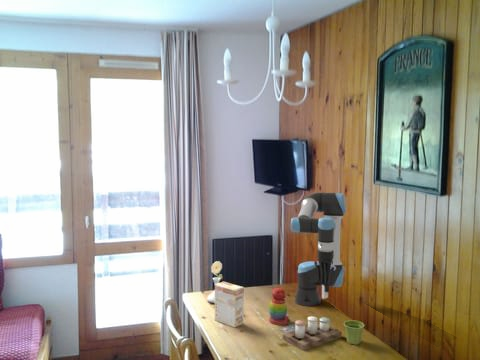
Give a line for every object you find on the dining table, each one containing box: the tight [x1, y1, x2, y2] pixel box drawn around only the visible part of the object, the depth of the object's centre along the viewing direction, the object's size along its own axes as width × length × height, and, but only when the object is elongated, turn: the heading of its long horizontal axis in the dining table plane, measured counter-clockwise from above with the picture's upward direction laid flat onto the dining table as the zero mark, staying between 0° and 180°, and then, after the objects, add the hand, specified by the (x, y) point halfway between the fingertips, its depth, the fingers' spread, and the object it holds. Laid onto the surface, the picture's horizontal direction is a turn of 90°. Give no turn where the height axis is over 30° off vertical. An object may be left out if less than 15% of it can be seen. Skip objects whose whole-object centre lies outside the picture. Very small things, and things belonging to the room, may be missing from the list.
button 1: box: [294, 319, 306, 338], centre depth 208 cm, size 5×5×7 cm
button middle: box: [307, 316, 319, 335], centre depth 212 cm, size 5×5×7 cm
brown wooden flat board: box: [282, 322, 343, 351], centre depth 213 cm, size 25×14×2 cm, turn 125°
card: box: [278, 323, 308, 334], centre depth 224 cm, size 14×6×1 cm, turn 125°
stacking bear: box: [268, 286, 290, 327], centre depth 232 cm, size 11×10×18 cm
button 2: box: [319, 316, 331, 333], centre depth 217 cm, size 5×5×7 cm
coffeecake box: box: [214, 281, 245, 329], centre depth 231 cm, size 15×7×20 cm, turn 47°
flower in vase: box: [206, 260, 224, 304], centre depth 261 cm, size 13×11×25 cm
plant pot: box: [343, 319, 365, 345], centre depth 208 cm, size 9×9×9 cm
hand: (324, 297), depth 216 cm, fingers closed
